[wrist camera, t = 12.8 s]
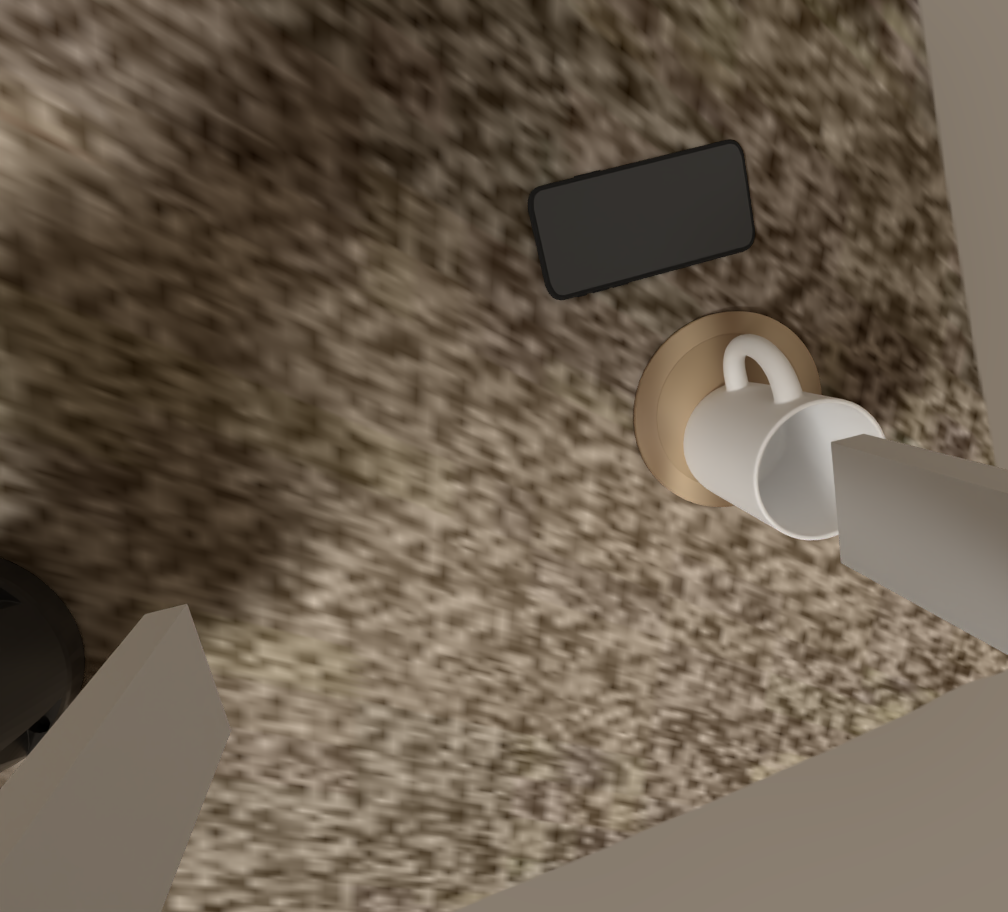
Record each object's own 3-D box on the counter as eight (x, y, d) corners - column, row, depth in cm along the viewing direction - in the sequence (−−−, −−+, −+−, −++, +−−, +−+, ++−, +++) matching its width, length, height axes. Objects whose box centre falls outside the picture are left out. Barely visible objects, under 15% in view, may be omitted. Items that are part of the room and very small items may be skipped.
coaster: (649, 524, 48) (652, 527, 48) (618, 334, 45) (621, 335, 44) (824, 479, 50) (830, 482, 49) (807, 292, 47) (813, 292, 46)
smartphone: (759, 248, 45) (551, 304, 43) (752, 249, 46) (548, 304, 44) (742, 133, 43) (524, 188, 42) (735, 137, 44) (521, 190, 43)
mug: (653, 350, 45) (725, 360, 35) (764, 312, 46) (866, 312, 36) (694, 509, 48) (770, 560, 38) (797, 472, 49) (899, 512, 39)
